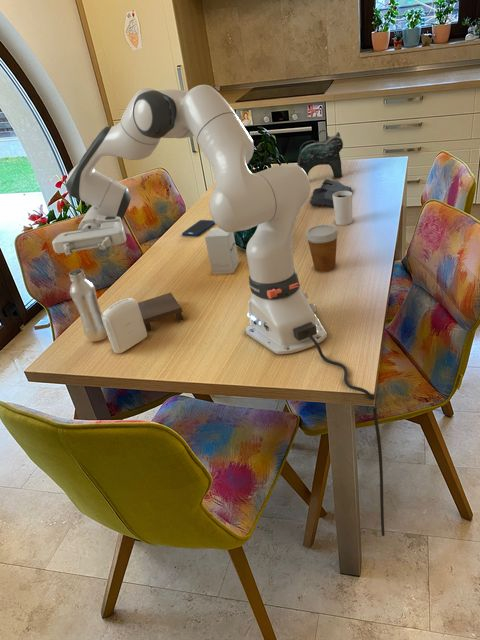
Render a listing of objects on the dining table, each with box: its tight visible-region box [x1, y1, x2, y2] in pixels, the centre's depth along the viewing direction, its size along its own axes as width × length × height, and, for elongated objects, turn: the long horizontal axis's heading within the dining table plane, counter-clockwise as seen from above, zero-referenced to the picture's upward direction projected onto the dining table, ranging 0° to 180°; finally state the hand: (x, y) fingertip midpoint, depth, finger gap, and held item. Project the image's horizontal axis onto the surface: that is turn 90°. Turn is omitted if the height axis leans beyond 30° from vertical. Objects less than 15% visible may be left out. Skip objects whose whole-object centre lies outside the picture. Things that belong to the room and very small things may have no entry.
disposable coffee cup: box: [305, 224, 339, 273], centre depth 167 cm, size 10×10×12 cm
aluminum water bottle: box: [68, 268, 108, 342], centre depth 148 cm, size 6×7×20 cm
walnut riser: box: [137, 292, 184, 333], centre depth 157 cm, size 11×11×4 cm
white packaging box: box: [204, 227, 240, 275], centre depth 176 cm, size 7×7×13 cm
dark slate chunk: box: [309, 178, 352, 208], centre depth 219 cm, size 15×22×5 cm
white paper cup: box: [333, 191, 353, 226], centre depth 196 cm, size 7×7×10 cm
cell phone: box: [181, 219, 216, 237], centre depth 213 cm, size 7×14×1 cm, turn 153°
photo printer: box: [101, 297, 148, 354], centre depth 146 cm, size 10×4×12 cm, turn 139°
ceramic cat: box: [296, 129, 344, 179], centre depth 237 cm, size 20×6×20 cm, turn 94°
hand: (84, 249), depth 153 cm, fingers open, 8 cm apart
